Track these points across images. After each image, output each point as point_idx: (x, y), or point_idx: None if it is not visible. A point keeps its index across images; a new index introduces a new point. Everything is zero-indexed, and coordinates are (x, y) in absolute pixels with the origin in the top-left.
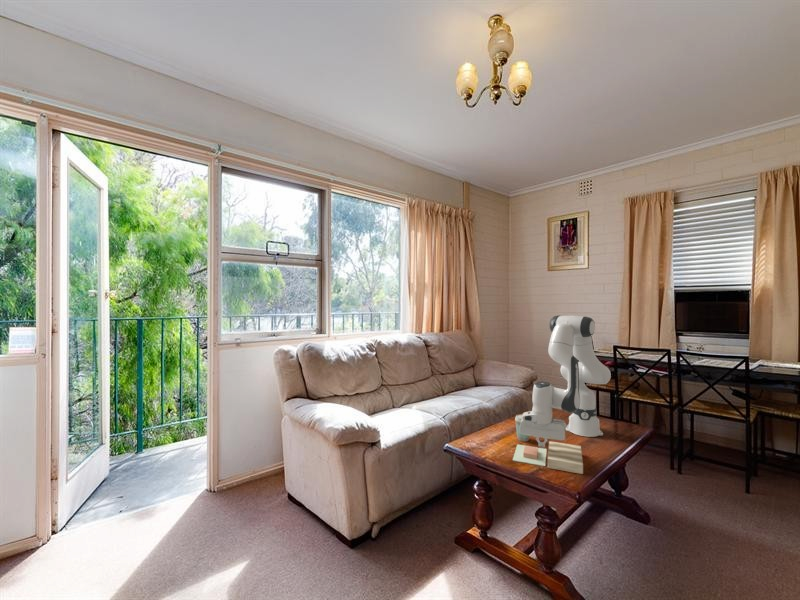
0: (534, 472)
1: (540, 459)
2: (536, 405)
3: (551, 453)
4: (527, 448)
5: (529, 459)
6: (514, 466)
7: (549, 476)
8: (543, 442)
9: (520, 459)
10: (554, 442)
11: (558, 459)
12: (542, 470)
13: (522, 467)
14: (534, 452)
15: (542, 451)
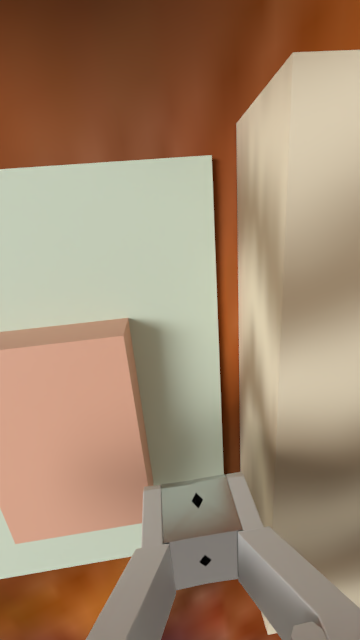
0: (172, 622)
1: (180, 469)
2: None
3: (306, 533)
4: (6, 425)
5: None
6: (37, 627)
7: (256, 615)
8: (236, 539)
9: (31, 546)
10: None
11: (357, 601)
12: (213, 583)
13: (88, 613)
14: (116, 484)
15: (170, 275)
